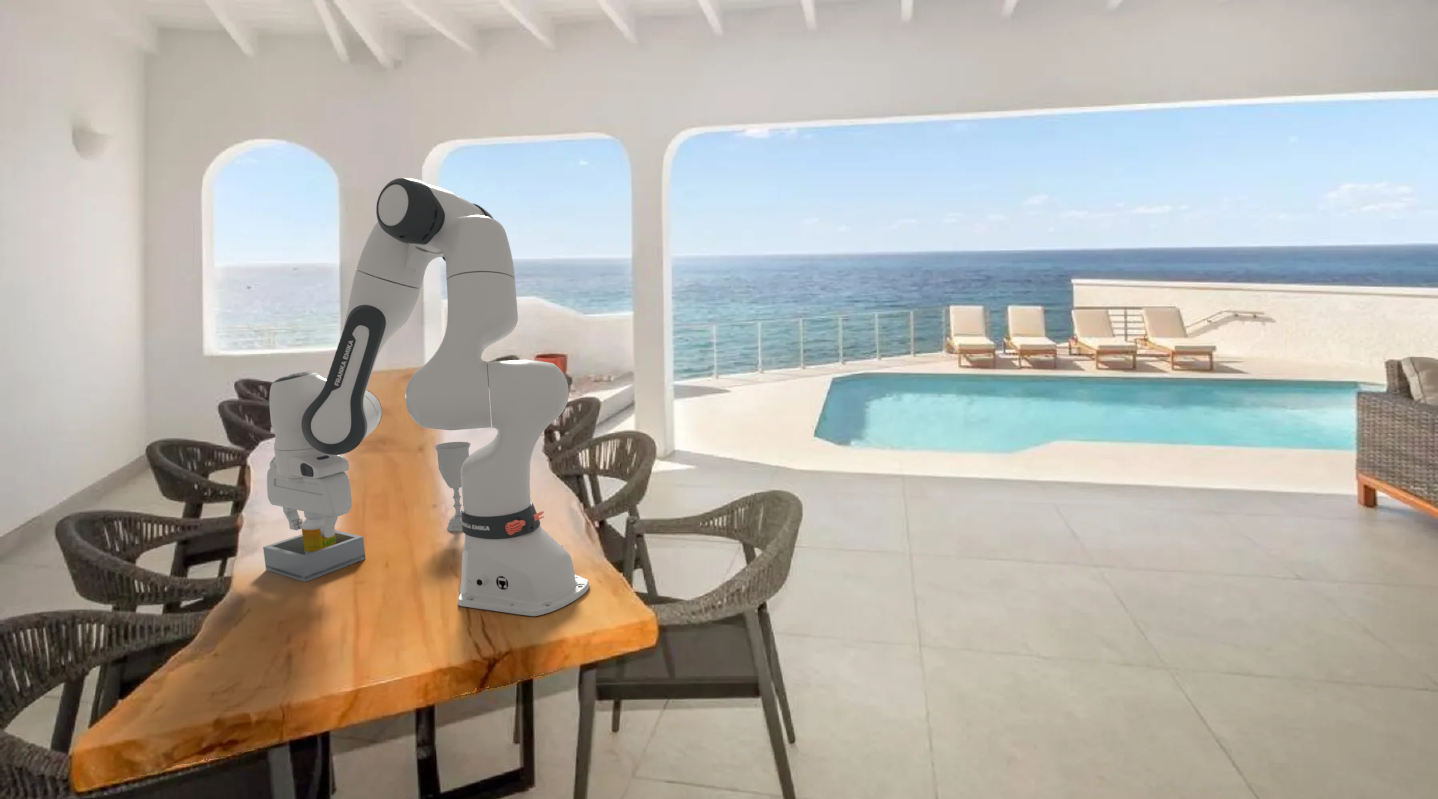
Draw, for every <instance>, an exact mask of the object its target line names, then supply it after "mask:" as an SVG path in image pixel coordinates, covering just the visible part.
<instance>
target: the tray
mask: <svg viewBox="0 0 1438 799" xmlns="http://www.w3.org/2000/svg"><path fill="white" fill-rule="evenodd" d="M335 537H336V544H335V545H332V546H329V547H326V548H323V549H320V550H318V551H315V552H312V553H309V554H306V555H305V552H304V543H303V535H302V534H299V535H295V536H293V537H289V538H287V539H284V540H281V541H278V542H274V543H271V544H268V545H265V546H263V547H262V550H263V557H264V563H265V570H266V571H268V572H272V573H275V574H277V575H281V576H284V577H288V578H292V579H295V580H298V581H300V582H304V583H306V582H309V581H311V580H314V579H316V578H320V577H322V576H325V575H327V574H330V573H332V572H335V571H338V570H340V569H343V568H345V567H348V565H349V566H351V565H354V564H357V563H358V561H359V562H362V561H364V560H366V551H365V550H366V548H365V542H364V536H362V535H358V534H354V533H349V532H345V531H342V530H338V529H335ZM356 562H357V563H356Z"/></svg>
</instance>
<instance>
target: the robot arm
mask: <svg viewBox="0 0 1438 799" xmlns="http://www.w3.org/2000/svg"><path fill="white" fill-rule="evenodd" d="M375 209H376V211H375V212H376V219H377V222H376V223H375V224H374V226H373V227H372V230H371V232H370V233H369V235H368V237H367V240H366V241H365V244H364V246H363V248H362V251H361V253H360V255H359V260H358V263H357V266H356V269H355V273H354V277H353V281H352V286H351V289H350V294H349V295H350V296H349V300H348V306H347V307H348V308H347V310H346V314H345V321H344V325H343V330H342V332H341V337H340V338H339V341H338V345H337V348H336V350H335V354H334V356H333V360H332V363H331V366H330V369H329V372H328V375H327V378H325V377H323V376H321V375H320V374H319V373H318V372H316V371H312V370H311V371H302V372H298V373H297V372H296V373H293V374H290V375H285V376H282V377H279V378H278V379H276V380H274V382H273V383H272V384H271V385H270V388H269V389H270V390H269V402H268V403H269V413H270V414H269V415H270V417H269V418H270V425H271V428H272V429H273V433H274V444H273V450H274V456H273V457H272V459H271V460H270V462H269V469H267V473H266V474H267V475H266V493H267V494H266V495H267V499H268V501H269V503H270V504H271V505H272V506H276V507H280V508H281V507H282V511H283V514H284V515H285V517H286V519H287V521H288V525H289V526H288V528H289V529H290V530H294V531H298V530H302V522H303V521H304V520H303V518H300V514H299V513H298V511H301V512H304V511H305V512H309V513H314V514H319V515H322V520H324V525H323V527H322V528H320V531H321V536H323V537H327V538H329V537H332V536H334V535H335V530H336V529H335V530H334V528H335V527H336V523H337V521H338V519H339V518H338V517H342V516H344V515H347V514H349V513H350V512H351V509H352V505H353V500H352V490H351V481H350V478H349V476H348V474H347V473H346V472H347V471H349V470H350V464H349V461H348V459H346V458H345V457H344V456H342V455H345V454H348V453H350V452H352V451H354V450H355V449H356V448H358V446H359V445H360V444H361V443H362V442H363V440H364V439H365V438H367V437H368V436H369V435H370V434H371V433H372V432H373V431H374V430H375V429H377V427H378V426H379V424H380V423H381V420H382V418H383V408H382V405H381V402H380V400H379V398H378V397H377V396H376V395H375V393H373V392H371V391H370V390H368V387H369V383H370V380H371V377H372V374H373V371H374V367H375V365H376V361H377V358H378V356H379V354H380V352H381V351H382V349H383V347H384V345H385V344H386V343H387V342H388V340H389V339H390V338H391V337H392V336H394V335H395V333H396V332H398V331H399V329H401V328H402V327H403V326H404V325H405V324H406V323H407V321H408V320H409V318H410V316H411V314H413V311H414V308H415V306H416V304H417V301H418V299H419V296H420V293H421V288H422V286H423V281H424V277H425V274H426V270H427V267H428V265H429V263H431V262H432V261H433V260H435V259H437V258H442V260H443V261H444V262H445V275H446V276H445V277H446V291H447V292H446V293H447V315H446V317H447V318H446V320H447V322H446V328H445V332H444V336H443V338H442V341H441V343H440V345H439V347H438V348H437V350H436V351H435V353H434V354H433V355H432V357H430V359H429V360H428V361H427V362H426V363H425V364H423V366H421V367H420V368H418V369H417V370H416V371H415V372H414V373H413V374H412V376H411V377H410V379H409V380H408V383H407V384H406V388H405V391H404V392H405V394H404V400H405V401H404V402H405V406H406V409H407V411H408V413H409V415H410V418H412V420H413V421H414V422H415V423H416V424H417V425H418V426H420V427H421V428H424V429H432V430H442V431H443V430H444V431H458V430H459V431H461V430H474V429H475V430H476V429H487V428H488V429H489V428H492V429H496V430H497V434H496V436H495V438H494V439H492V441H491V442H489V443H488V444H486V445H484V446H482V447H480V448H479V449H477V450H475V451H474V452H472V453H470V454H469V456H468V457H467V458H466V460H465V461H464V463H463V465H462V467H461V472H460V473H461V486H462V487H461V493H462V494H461V497H462V509H461V510H460V512H461V524H462V531H461V532H462V533H463V534H464V541H463V542H464V544H463V549H462V556H461V579H460V580H461V581H460V582H461V583H460V586H459V596H458V598H457V605H458V606H460V607H466V608H470V609H471V608H472V609H479V610H486V611H492V612H501V613H506V614H507V613H508V614H513V615H522V616H526V617H527V616H529V617H536V616H537V617H538V616H542V615H545V614H549V613H553V612H555V611H557V610H559V609H562V608H564V607H566V606H567V605H569V604H571V603H573V602H575V601H576V600H578V599H579V598H581V597H582V596H584V594H585V593H587V591H588V590H589V588H590V582H589V579H587V578H585V577H582V576H580V575H578V574H575V568H574V562H573V559H572V556H571V554H570V552H568V551H567V550H566V549H565V548H564V546H563V545H562V544H561V543H559V542H558V541H556V540H555V539H554V538H553V537H552V536H551V535H550V534H549V533H548V532H547V531H546V530H545V529H544V528H543V527H542V526H541V519H543V518H545V516H544V515H543V514H544V512H545V511H544V510H542V511H539V512H537V510H536V508H535V506H534V503H533V502H532V501H531V483H530V482H531V462H532V456H533V452H534V448H535V447H536V445H537V442H538V441H539V439H540V437H541V436H542V434H543V432H544V431H545V430H546V429H547V428H548V427H549V426H550V425H551V424H552V423H553V422H554V421H555V420H557V419H558V418H559V417H560V416H561V414H563V412H564V410H565V409H566V406H567V404H568V400H569V395H570V394H569V393H570V390H569V384H568V380H567V377H566V375H565V374H564V372H563V371H562V370H561V369H560V368H559V367H558V365H556V364H555V363H553V362H547V361H541V360H533V359H512V360H498V361H497V360H495V361H486V360H483V359H482V355H483V352H484V351H485V350H486V349H487V348H488V347H490V346H491V345H493V344H495V343H497V342H499V341H501V340H503V339H505V337H507V336H509V335H510V334H511V333H512V332H513V331H514V330H515V329H516V327H517V324H518V321H519V314H518V302H517V301H518V300H517V287H516V276H515V267H514V262H513V256H512V251H511V246H510V242H509V239H508V235H507V232H506V230H505V228H504V226H503V225H502V224H501V223H500V222H499V221H497V220H496V219H494V217H493V216H492V214H490V213H489V212H488V211H487V209H485V208H483V207H482V206H481V205H478V204H476V203H472V202H471V201H469V200H467V199H465V198H463V197H461V196H459V195H457V194H455V193H454V192H452V191H450V190H446V189H444V188H442V187H440V186H435V185H431V184H427V183H425V182H424V181H421V180H419V179H415V178H408V177H399V178H395V179H393V180H390V181H389V182H388V183H387V184H386V185H385V186H384V187H383V188H382V190H381V191H380V193H379V195H378V198H377V201H376V208H375ZM542 515H543V516H542Z"/></svg>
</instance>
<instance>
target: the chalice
mask: <svg viewBox="0 0 1438 799" xmlns="http://www.w3.org/2000/svg"><path fill="white" fill-rule="evenodd" d="M470 446H471V443H470V442H468V441H450V442H443V443H439V444H436V445H435V446H434V449H435V450H436V452H437V461H438V462H437V463H438V470H439V472H440V474H441V477H442V479H443V480H444V481H445V483H446V485H447V486H448V487H449V488H450V489H452V490H453V497H452V498H453V500H454V503H453V508H454V509H455V510H454V511H455V513H454V515H453V516H451V518H450V519H449V522H448V523H447V525H448V526H447V528H446V530H447V531H449V532H463V531H462V524H461V507H463V504H462V503H461V502H460V499H461V497H462V495H460V492H459V490H460V488H462V486H461V473H460V472H461V467H462V465H463V463H464V461H465V460H466V458H467V457H468V456H470V453H469V452H470V450H469V448H470Z"/></svg>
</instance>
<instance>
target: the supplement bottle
mask: <svg viewBox="0 0 1438 799" xmlns="http://www.w3.org/2000/svg"><path fill="white" fill-rule="evenodd" d="M303 516H304V518H305V519H304V520H303V522H302V529H301V535H303V543H304V552H305V555H306V554H309V553H312V552H315V551H318V550H320V549H323V548H326V547H329V546H332V545H335V544H336V537H335V535H334V536H332V537H329V538H327V537H323V536H321V531H320V528H322V527H323V525H324V520H322V515H319V514H314V513H309V512H305V511H303ZM334 530H336V529H335V527H334Z"/></svg>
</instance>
